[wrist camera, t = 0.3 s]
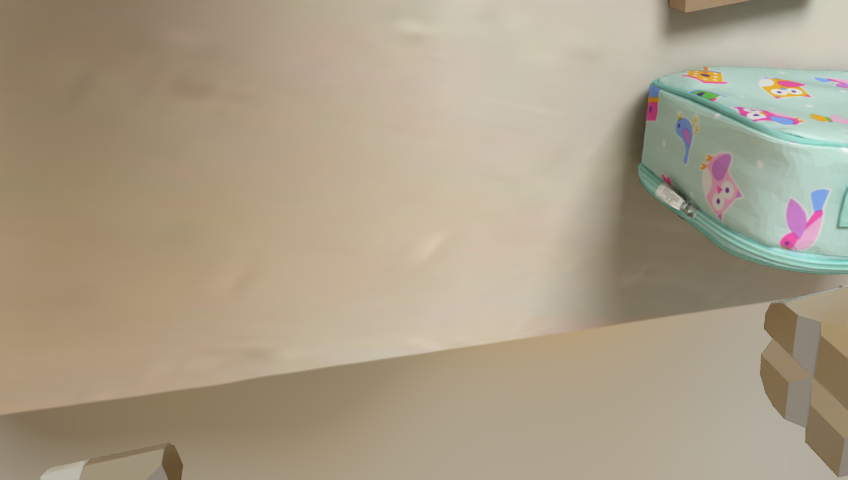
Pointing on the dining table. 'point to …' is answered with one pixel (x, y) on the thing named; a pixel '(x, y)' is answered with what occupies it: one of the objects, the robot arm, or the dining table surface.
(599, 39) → the dining table surface
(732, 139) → the lunch box
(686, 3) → the walnut deck
